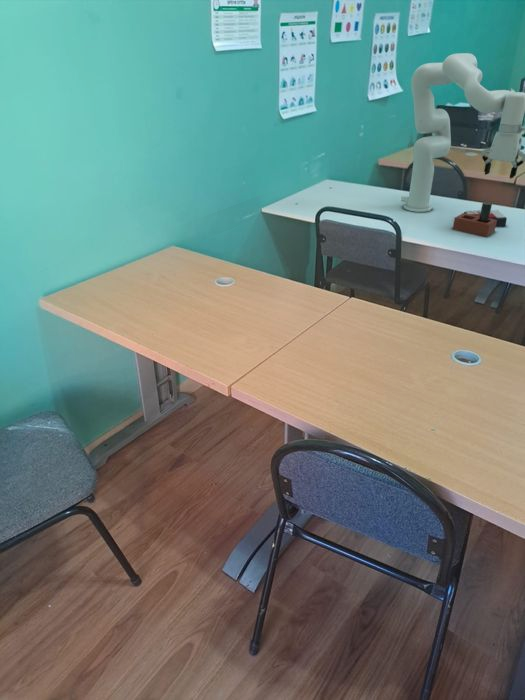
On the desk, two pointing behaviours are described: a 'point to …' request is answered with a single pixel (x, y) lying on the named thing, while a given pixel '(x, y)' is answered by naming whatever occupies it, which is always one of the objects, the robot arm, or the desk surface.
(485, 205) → the peg
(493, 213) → the calculator
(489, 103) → the robot arm
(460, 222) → the hollow brick
